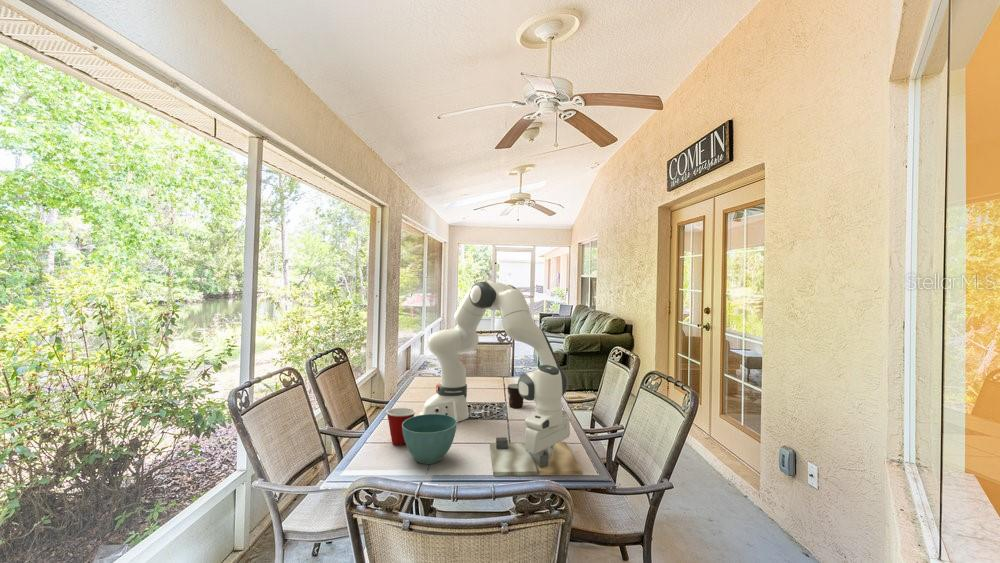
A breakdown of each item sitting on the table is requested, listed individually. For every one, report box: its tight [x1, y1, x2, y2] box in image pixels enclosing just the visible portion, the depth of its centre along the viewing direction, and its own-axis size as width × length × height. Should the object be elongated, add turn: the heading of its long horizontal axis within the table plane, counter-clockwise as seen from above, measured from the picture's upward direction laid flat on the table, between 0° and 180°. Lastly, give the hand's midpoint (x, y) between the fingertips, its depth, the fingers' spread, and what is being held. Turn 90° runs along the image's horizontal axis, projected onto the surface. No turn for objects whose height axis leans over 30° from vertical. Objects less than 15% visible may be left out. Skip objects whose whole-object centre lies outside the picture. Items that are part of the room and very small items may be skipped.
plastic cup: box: [385, 407, 417, 447], centre depth 149 cm, size 11×11×12 cm
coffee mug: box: [507, 383, 525, 410], centre depth 195 cm, size 12×9×10 cm
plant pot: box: [402, 414, 458, 465], centre depth 136 cm, size 18×18×12 cm
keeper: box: [495, 436, 509, 449], centre depth 143 cm, size 4×3×3 cm
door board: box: [489, 441, 583, 477], centre depth 136 cm, size 28×22×1 cm
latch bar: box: [526, 450, 548, 467], centre depth 135 cm, size 15×4×4 cm, turn 14°
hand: (548, 458), depth 132 cm, fingers closed
